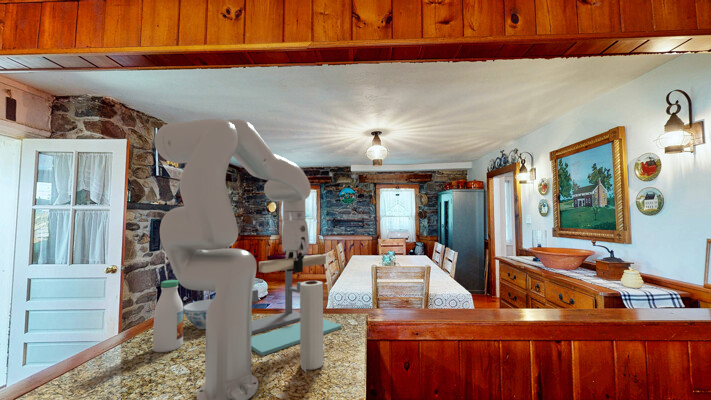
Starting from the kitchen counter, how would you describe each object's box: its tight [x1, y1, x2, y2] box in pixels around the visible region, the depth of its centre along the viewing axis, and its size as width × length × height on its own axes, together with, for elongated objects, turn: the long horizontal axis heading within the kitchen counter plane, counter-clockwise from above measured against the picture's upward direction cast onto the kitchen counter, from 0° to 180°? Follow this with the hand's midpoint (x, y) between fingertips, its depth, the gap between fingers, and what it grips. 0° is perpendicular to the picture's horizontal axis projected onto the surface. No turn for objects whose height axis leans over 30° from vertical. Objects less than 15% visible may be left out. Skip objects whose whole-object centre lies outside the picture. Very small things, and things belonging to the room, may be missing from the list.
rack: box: [252, 270, 303, 336], centre depth 113 cm, size 10×24×20 cm, turn 135°
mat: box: [251, 318, 342, 357], centre depth 100 cm, size 13×30×1 cm, turn 135°
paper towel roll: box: [299, 280, 324, 373], centre depth 80 cm, size 7×6×21 cm
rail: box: [258, 254, 327, 274], centre depth 102 cm, size 4×24×3 cm, turn 134°
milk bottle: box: [152, 279, 184, 353], centre depth 93 cm, size 8×8×20 cm
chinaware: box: [183, 298, 213, 330], centre depth 111 cm, size 15×15×8 cm
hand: (294, 271), depth 102 cm, fingers closed on rail, 3 cm apart
